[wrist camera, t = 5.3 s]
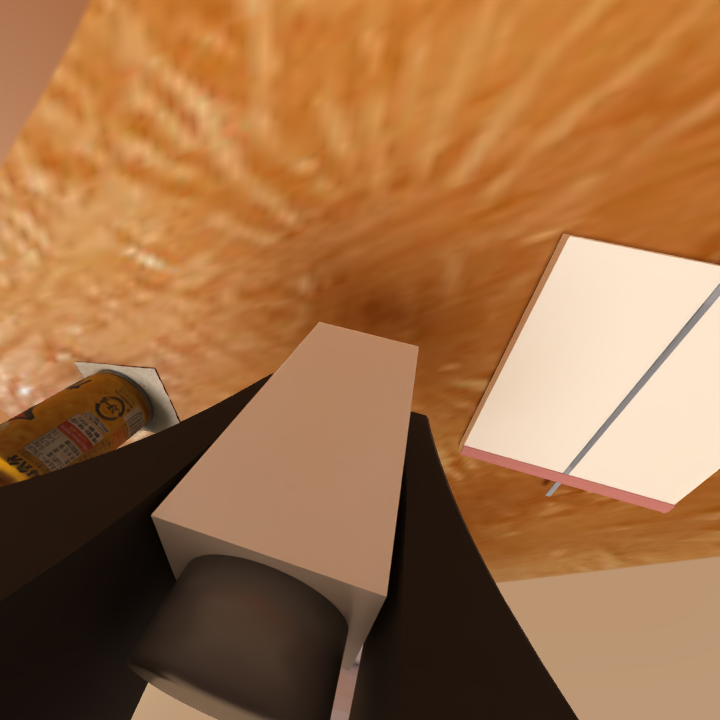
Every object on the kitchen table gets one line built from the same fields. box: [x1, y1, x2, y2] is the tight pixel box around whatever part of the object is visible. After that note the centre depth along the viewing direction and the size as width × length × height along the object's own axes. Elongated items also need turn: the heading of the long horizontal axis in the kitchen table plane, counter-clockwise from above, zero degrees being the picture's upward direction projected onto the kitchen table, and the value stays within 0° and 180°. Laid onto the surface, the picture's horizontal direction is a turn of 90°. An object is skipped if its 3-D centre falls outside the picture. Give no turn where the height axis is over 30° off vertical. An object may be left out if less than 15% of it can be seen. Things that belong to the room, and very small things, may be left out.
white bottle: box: [125, 322, 419, 720], centre depth 8 cm, size 4×4×9 cm
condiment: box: [0, 362, 179, 487], centre depth 22 cm, size 7×8×12 cm
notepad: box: [459, 233, 720, 513], centre depth 16 cm, size 17×13×1 cm
